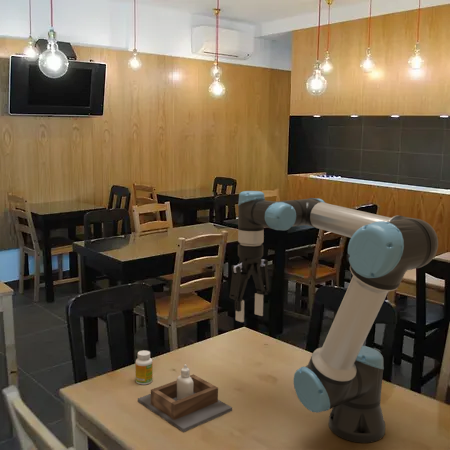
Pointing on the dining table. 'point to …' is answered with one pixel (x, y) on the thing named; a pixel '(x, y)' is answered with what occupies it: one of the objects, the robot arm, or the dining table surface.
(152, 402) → the bottle holder
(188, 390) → the eye dropper bottle
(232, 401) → the dining table surface
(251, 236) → the robot arm
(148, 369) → the supplement bottle
